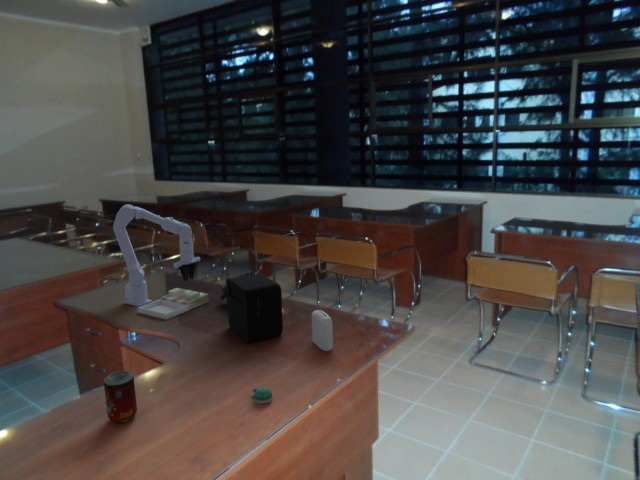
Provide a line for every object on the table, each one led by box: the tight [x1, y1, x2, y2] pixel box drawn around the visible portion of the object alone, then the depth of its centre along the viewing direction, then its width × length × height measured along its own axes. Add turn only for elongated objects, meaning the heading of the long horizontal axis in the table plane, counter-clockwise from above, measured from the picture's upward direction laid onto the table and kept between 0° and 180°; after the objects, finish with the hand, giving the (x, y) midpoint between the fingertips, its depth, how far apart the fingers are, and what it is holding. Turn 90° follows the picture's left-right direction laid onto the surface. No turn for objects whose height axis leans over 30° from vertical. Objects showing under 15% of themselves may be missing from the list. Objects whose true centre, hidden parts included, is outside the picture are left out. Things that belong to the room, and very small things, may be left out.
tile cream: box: [168, 287, 186, 297], centre depth 209 cm, size 5×5×2 cm
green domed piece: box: [251, 386, 273, 405], centre depth 129 cm, size 6×7×4 cm
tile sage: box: [183, 290, 200, 300], centre depth 205 cm, size 5×5×2 cm
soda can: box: [103, 370, 138, 426], centre depth 120 cm, size 7×7×12 cm
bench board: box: [160, 289, 210, 311], centre depth 208 cm, size 16×13×4 cm
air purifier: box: [225, 272, 284, 344], centre depth 174 cm, size 20×15×20 cm
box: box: [137, 298, 190, 321], centre depth 198 cm, size 17×12×2 cm
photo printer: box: [311, 309, 334, 352], centre depth 161 cm, size 10×4×12 cm, turn 26°
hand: (188, 279), depth 215 cm, fingers open, 3 cm apart
